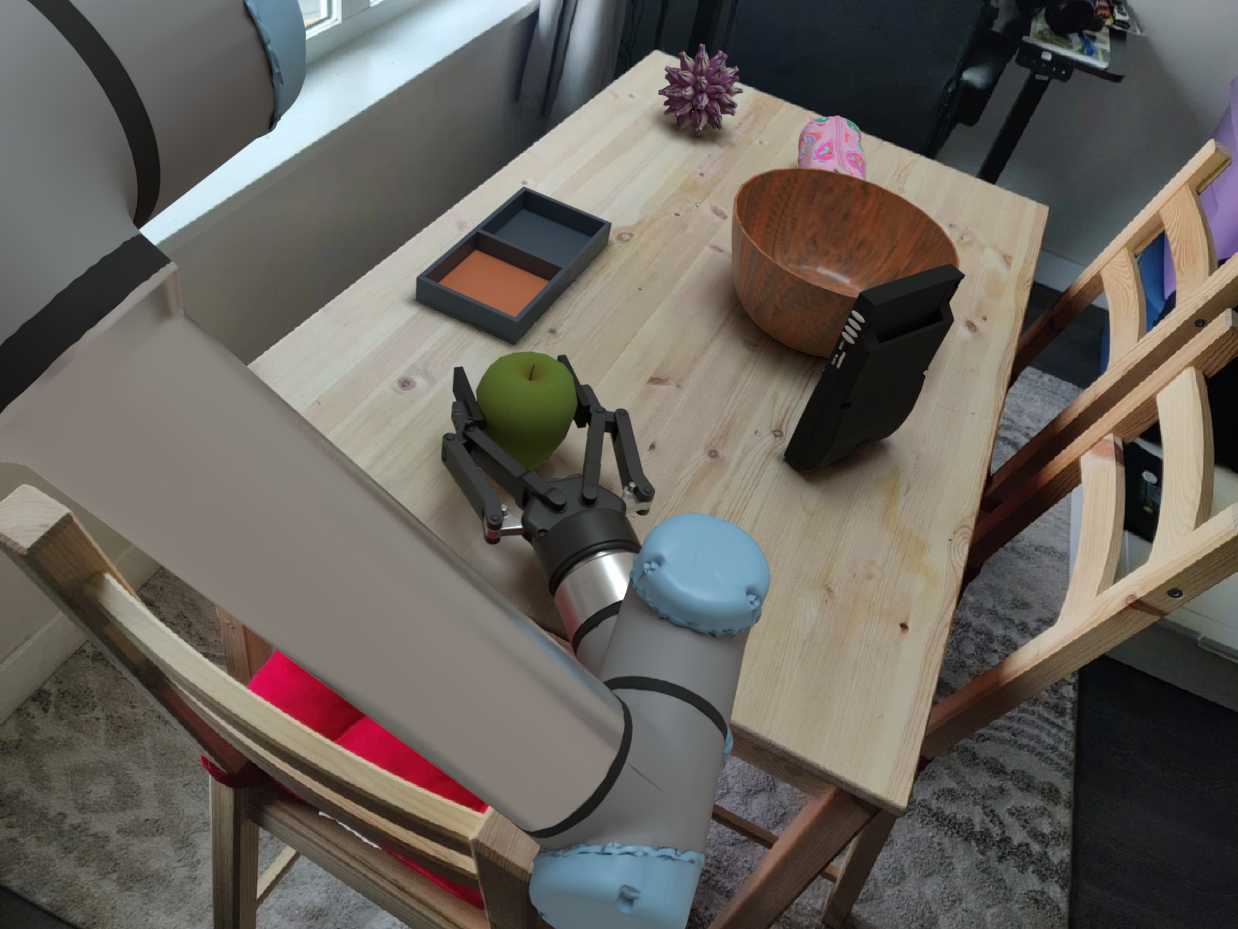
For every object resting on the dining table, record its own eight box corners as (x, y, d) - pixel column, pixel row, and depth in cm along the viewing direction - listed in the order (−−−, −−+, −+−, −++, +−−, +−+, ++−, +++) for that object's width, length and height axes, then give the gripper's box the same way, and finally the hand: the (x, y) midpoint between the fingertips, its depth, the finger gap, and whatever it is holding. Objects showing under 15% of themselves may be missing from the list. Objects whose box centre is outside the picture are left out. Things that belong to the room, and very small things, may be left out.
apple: (510, 413, 86) (523, 316, 77) (583, 458, 83) (605, 363, 75) (449, 463, 80) (457, 364, 72) (526, 513, 78) (543, 416, 70)
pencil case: (860, 259, 116) (888, 197, 109) (791, 243, 115) (815, 179, 109) (850, 177, 131) (874, 117, 124) (788, 162, 130) (809, 102, 124)
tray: (514, 344, 92) (517, 322, 90) (415, 300, 94) (416, 277, 92) (607, 243, 108) (612, 222, 106) (521, 207, 110) (523, 185, 108)
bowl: (883, 263, 116) (921, 183, 108) (942, 398, 99) (992, 315, 91) (694, 239, 112) (718, 153, 104) (721, 376, 95) (753, 286, 87)
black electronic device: (861, 419, 94) (946, 258, 80) (892, 449, 92) (985, 289, 78) (777, 455, 88) (853, 288, 74) (808, 487, 86) (892, 321, 72)
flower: (659, 114, 137) (739, 115, 136) (655, 149, 128) (741, 150, 127) (660, 33, 129) (745, 33, 128) (656, 64, 120) (747, 65, 119)
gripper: (453, 639, 65) (386, 419, 78) (715, 579, 73) (613, 388, 86) (459, 577, 60) (386, 352, 73) (741, 520, 68) (629, 327, 81)
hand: (509, 372), depth 80 cm, fingers closed on apple, 9 cm apart
